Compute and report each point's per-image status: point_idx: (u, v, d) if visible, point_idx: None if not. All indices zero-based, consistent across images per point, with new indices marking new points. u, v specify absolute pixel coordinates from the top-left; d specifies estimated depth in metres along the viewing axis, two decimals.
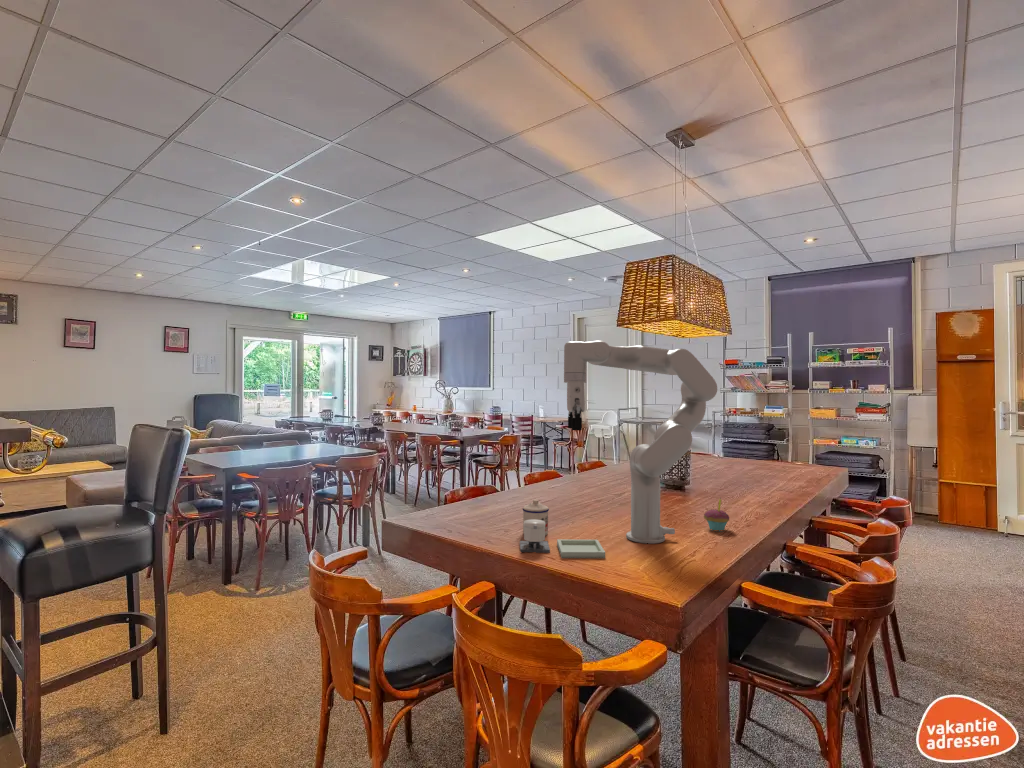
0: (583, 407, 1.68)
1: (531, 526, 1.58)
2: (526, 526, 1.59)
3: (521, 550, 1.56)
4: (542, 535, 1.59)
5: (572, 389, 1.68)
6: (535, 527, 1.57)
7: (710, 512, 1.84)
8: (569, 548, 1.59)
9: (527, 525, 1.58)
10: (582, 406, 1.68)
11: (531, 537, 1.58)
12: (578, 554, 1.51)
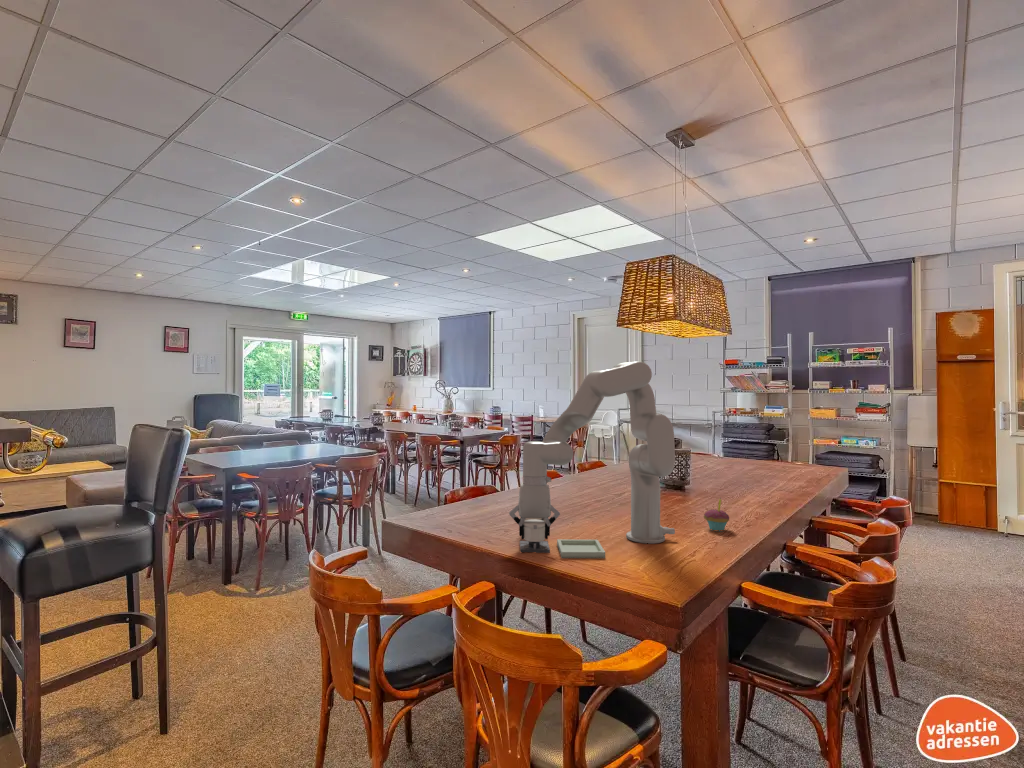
0: None
1: (531, 526, 1.58)
2: (526, 526, 1.59)
3: (521, 550, 1.56)
4: (542, 535, 1.59)
5: (549, 494, 1.60)
6: (535, 527, 1.57)
7: (710, 512, 1.84)
8: (569, 548, 1.59)
9: (527, 525, 1.58)
10: None
11: (531, 537, 1.58)
12: (578, 554, 1.51)
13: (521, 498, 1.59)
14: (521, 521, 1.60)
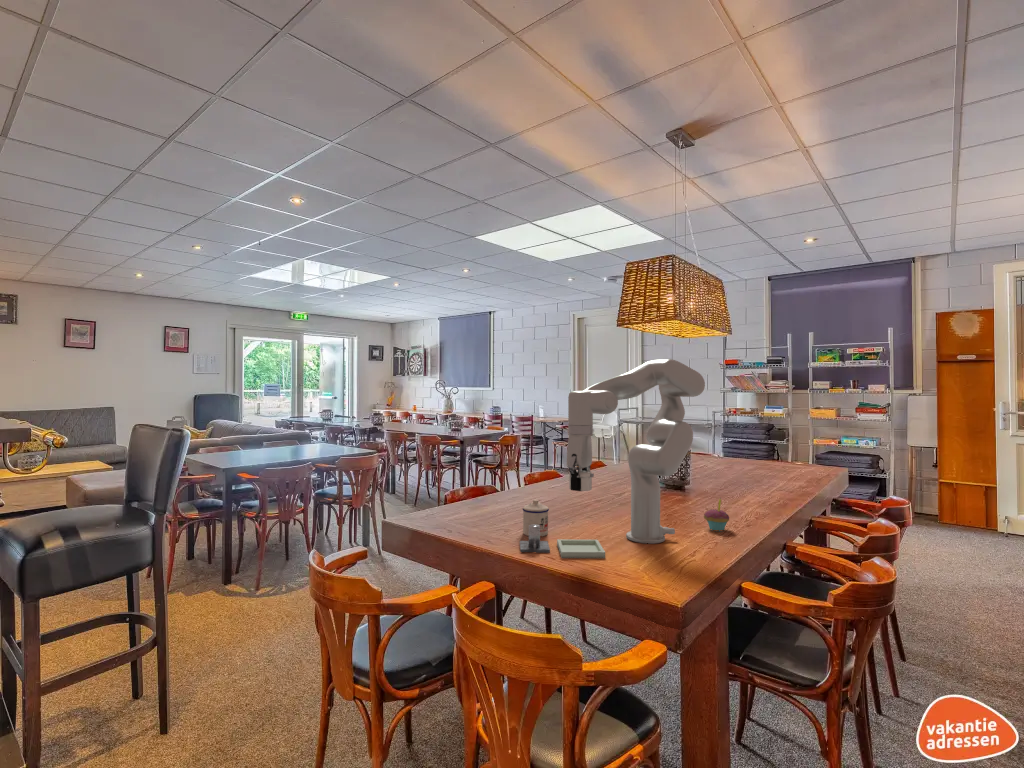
0: None
1: (588, 475, 1.56)
2: (583, 476, 1.55)
3: (521, 550, 1.56)
4: None
5: None
6: (593, 475, 1.56)
7: (710, 512, 1.84)
8: (569, 548, 1.59)
9: (585, 475, 1.55)
10: None
11: (589, 486, 1.56)
12: (578, 554, 1.51)
13: (581, 448, 1.54)
14: (579, 473, 1.54)
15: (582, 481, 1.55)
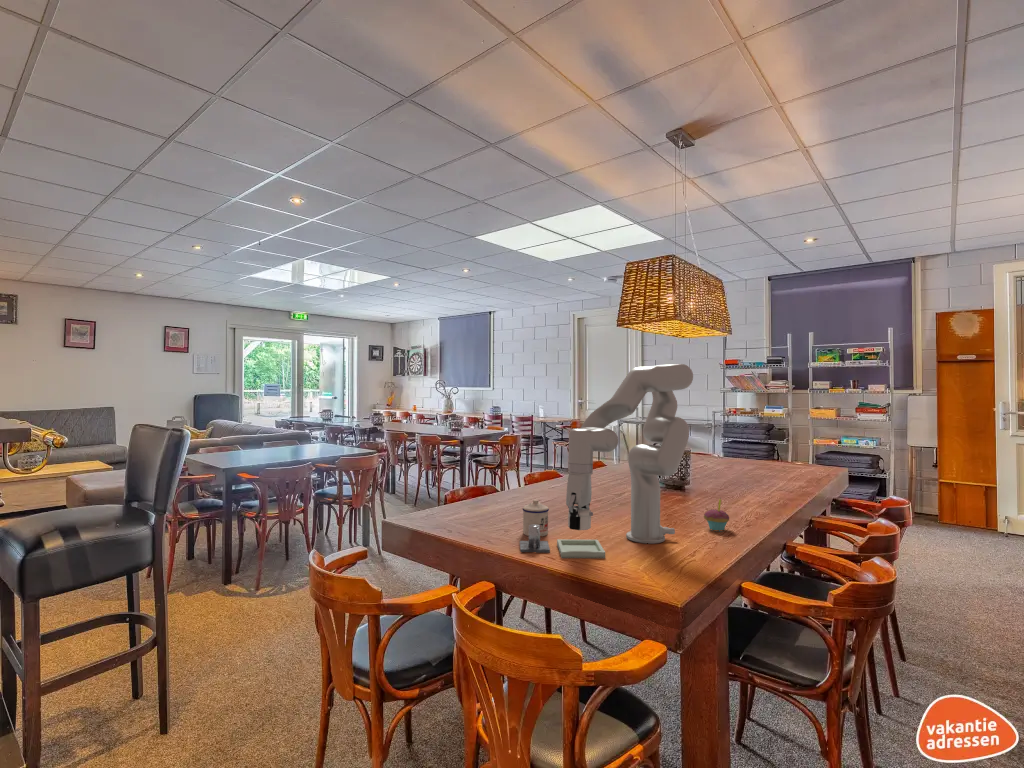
0: None
1: (588, 514, 1.56)
2: (582, 515, 1.55)
3: (521, 550, 1.56)
4: None
5: None
6: (592, 514, 1.56)
7: (710, 512, 1.84)
8: (569, 548, 1.59)
9: (584, 514, 1.55)
10: None
11: (588, 525, 1.56)
12: (578, 554, 1.51)
13: (581, 487, 1.54)
14: (578, 511, 1.54)
15: (581, 520, 1.55)
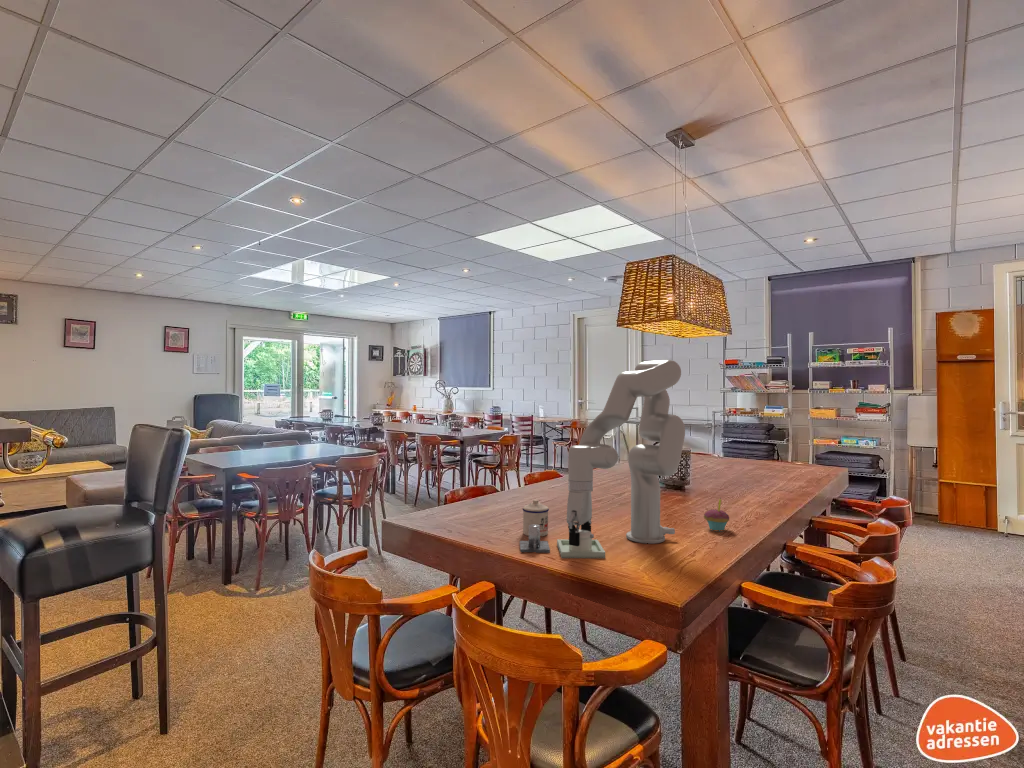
0: None
1: (588, 536, 1.56)
2: (583, 538, 1.55)
3: (521, 550, 1.56)
4: None
5: None
6: (593, 536, 1.56)
7: (710, 512, 1.84)
8: None
9: (585, 536, 1.55)
10: None
11: (589, 547, 1.56)
12: (578, 554, 1.51)
13: (581, 505, 1.54)
14: (578, 528, 1.53)
15: (582, 543, 1.55)
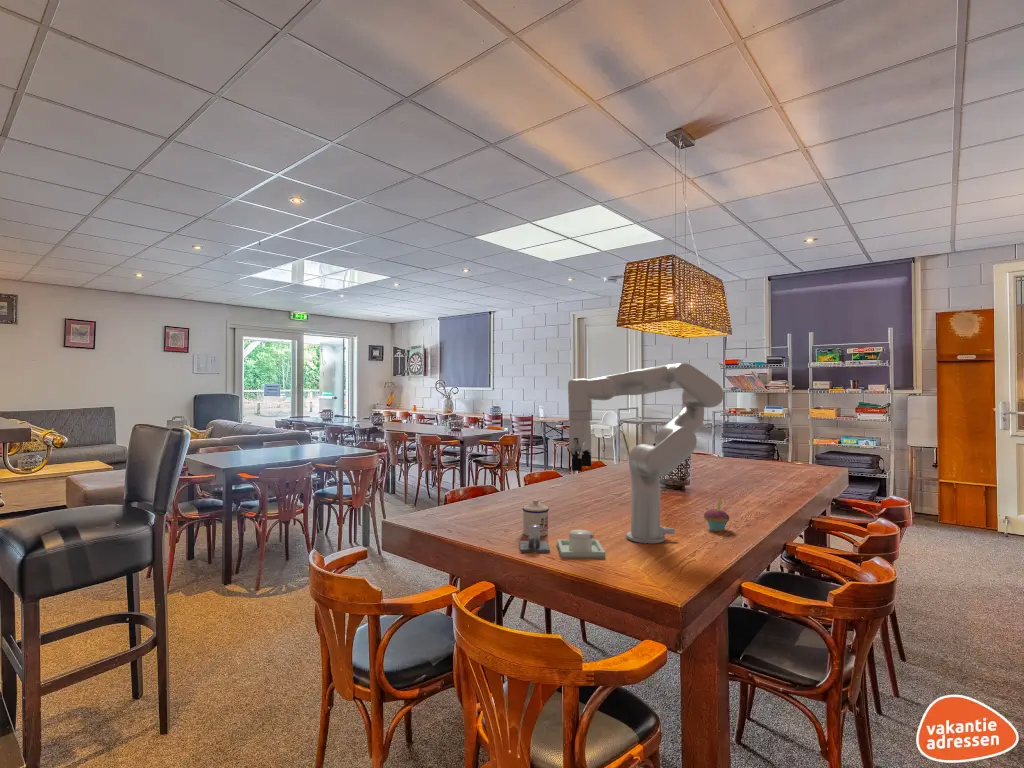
0: None
1: (588, 536, 1.56)
2: (583, 538, 1.55)
3: (521, 550, 1.56)
4: None
5: None
6: (593, 536, 1.56)
7: (710, 512, 1.84)
8: None
9: (585, 536, 1.55)
10: None
11: (589, 547, 1.56)
12: (578, 554, 1.51)
13: (582, 433, 1.64)
14: (580, 454, 1.63)
15: (582, 543, 1.55)
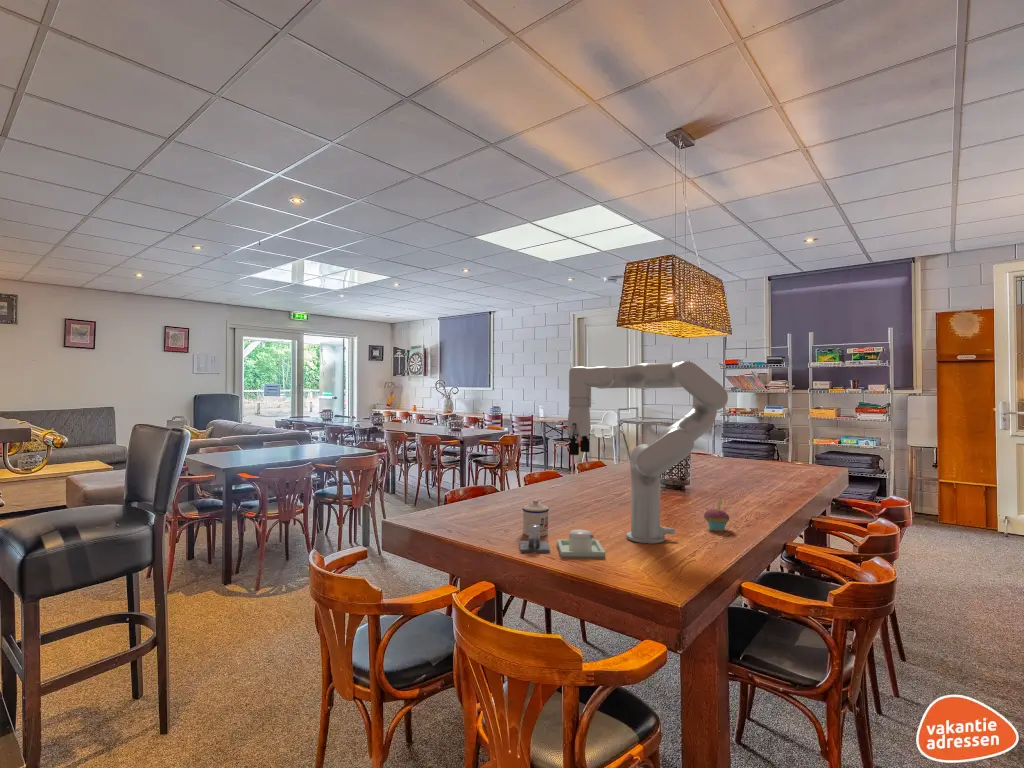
0: None
1: (588, 536, 1.56)
2: (583, 538, 1.55)
3: (521, 550, 1.56)
4: None
5: None
6: (593, 536, 1.56)
7: (710, 512, 1.84)
8: None
9: (585, 536, 1.55)
10: None
11: (589, 547, 1.56)
12: (578, 554, 1.51)
13: (580, 418, 1.70)
14: (577, 438, 1.70)
15: (582, 543, 1.55)
